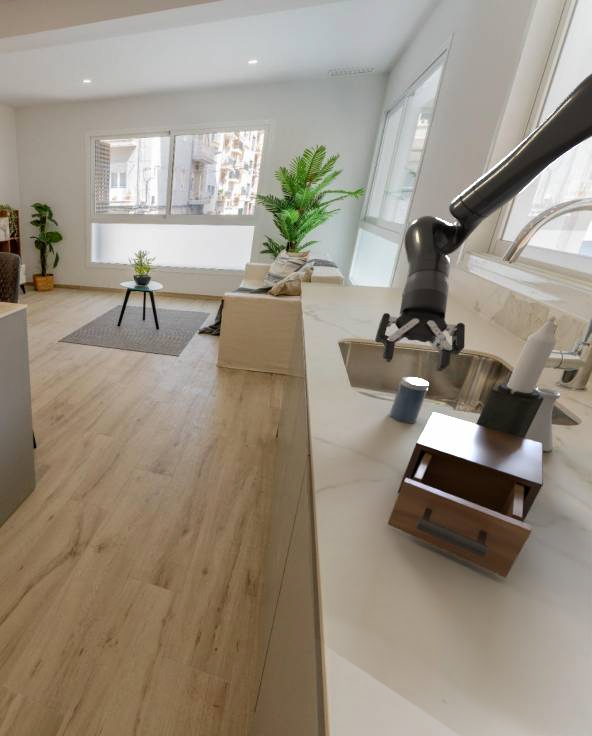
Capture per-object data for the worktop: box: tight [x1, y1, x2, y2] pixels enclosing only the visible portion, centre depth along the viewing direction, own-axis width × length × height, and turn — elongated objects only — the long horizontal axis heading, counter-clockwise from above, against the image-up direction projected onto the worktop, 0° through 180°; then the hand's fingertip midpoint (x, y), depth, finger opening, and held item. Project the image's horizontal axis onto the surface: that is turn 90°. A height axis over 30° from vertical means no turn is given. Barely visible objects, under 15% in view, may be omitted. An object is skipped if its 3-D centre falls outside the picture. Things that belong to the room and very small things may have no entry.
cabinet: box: [397, 411, 544, 522], centre depth 61 cm, size 14×13×9 cm
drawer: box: [387, 452, 532, 579], centre depth 53 cm, size 17×11×7 cm
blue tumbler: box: [389, 376, 430, 424], centre depth 83 cm, size 4×4×8 cm
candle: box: [476, 315, 557, 438], centre depth 66 cm, size 5×5×25 cm
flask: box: [525, 387, 562, 452], centre depth 75 cm, size 7×7×10 cm
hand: (414, 364), depth 85 cm, fingers open, 8 cm apart
